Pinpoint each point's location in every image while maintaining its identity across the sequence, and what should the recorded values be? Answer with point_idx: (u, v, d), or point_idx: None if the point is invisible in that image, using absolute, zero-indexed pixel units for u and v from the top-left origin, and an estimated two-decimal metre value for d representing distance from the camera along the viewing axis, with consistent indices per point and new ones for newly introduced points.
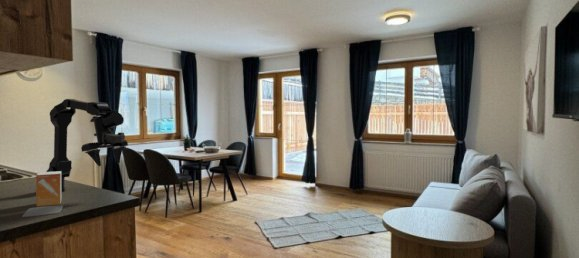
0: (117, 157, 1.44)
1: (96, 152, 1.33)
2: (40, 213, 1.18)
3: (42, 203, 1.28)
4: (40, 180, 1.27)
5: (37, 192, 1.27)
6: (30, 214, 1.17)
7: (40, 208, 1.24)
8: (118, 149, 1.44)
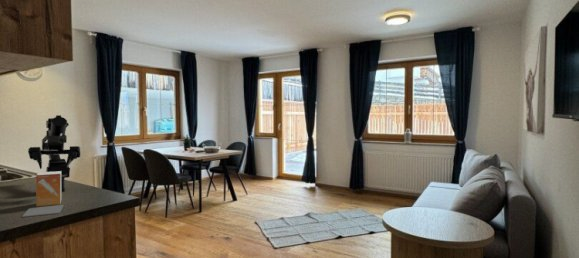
0: None
1: (36, 155, 1.38)
2: (40, 213, 1.18)
3: (42, 203, 1.28)
4: (40, 180, 1.27)
5: (37, 192, 1.27)
6: (30, 214, 1.17)
7: (40, 208, 1.24)
8: None
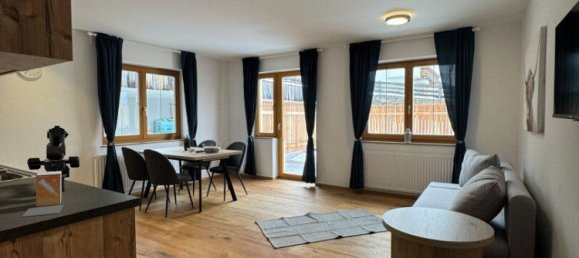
0: None
1: (47, 165, 1.40)
2: (40, 213, 1.18)
3: (42, 203, 1.28)
4: (40, 180, 1.27)
5: (37, 192, 1.27)
6: (30, 214, 1.17)
7: (40, 208, 1.24)
8: None
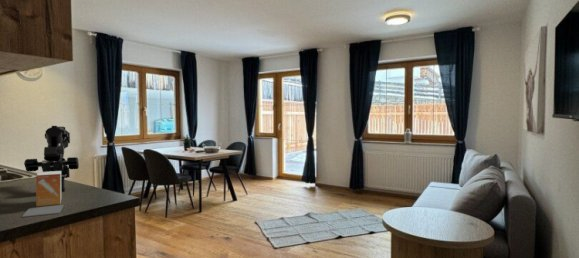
0: None
1: (45, 166, 1.35)
2: (40, 213, 1.18)
3: (42, 203, 1.28)
4: (40, 180, 1.27)
5: (37, 192, 1.27)
6: (30, 214, 1.17)
7: (40, 208, 1.24)
8: None
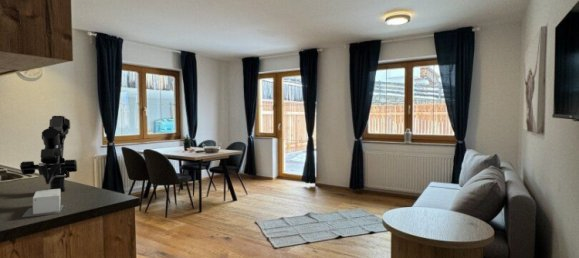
0: None
1: (42, 169, 1.30)
2: None
3: None
4: None
5: None
6: (30, 214, 1.17)
7: None
8: None
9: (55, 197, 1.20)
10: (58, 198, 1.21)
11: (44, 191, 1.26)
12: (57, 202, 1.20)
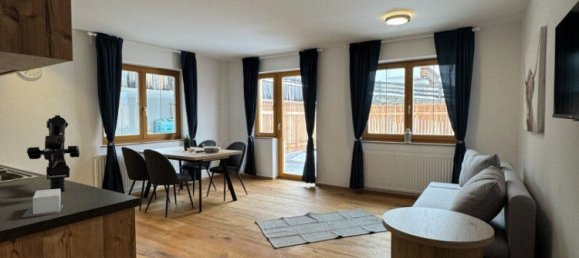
0: None
1: (47, 154, 1.40)
2: None
3: None
4: None
5: None
6: (30, 214, 1.17)
7: None
8: None
9: (55, 197, 1.20)
10: (58, 198, 1.21)
11: (44, 191, 1.26)
12: (57, 202, 1.20)
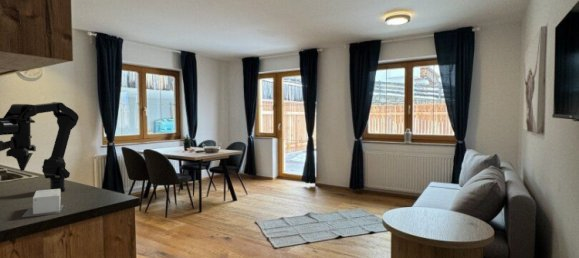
0: None
1: None
2: None
3: None
4: None
5: None
6: (30, 214, 1.17)
7: None
8: None
9: (55, 197, 1.20)
10: (58, 198, 1.21)
11: (44, 191, 1.26)
12: (57, 202, 1.20)
